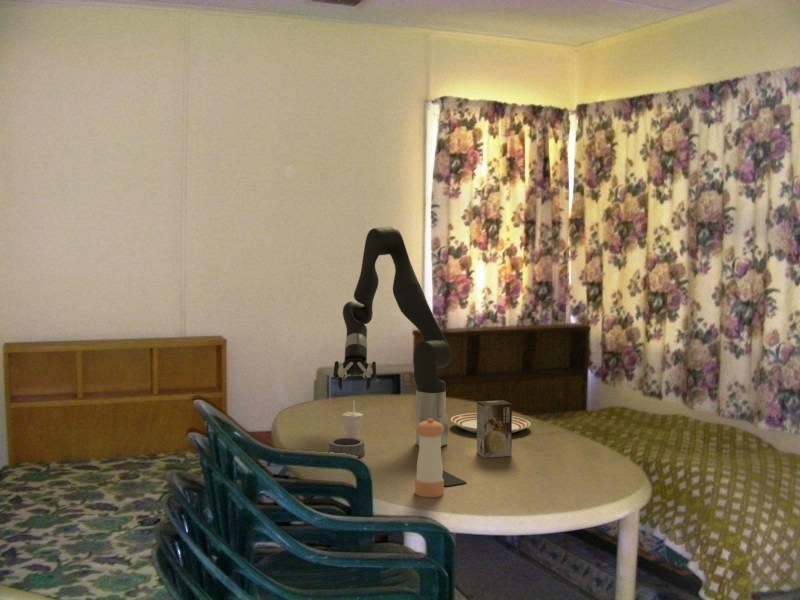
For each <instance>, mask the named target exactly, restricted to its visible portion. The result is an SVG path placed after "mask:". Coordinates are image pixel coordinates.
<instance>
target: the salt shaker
mask: <svg viewBox="0 0 800 600" xmlns="http://www.w3.org/2000/svg"><path fill="white" fill-rule="evenodd" d="M416 430H417V433H418V434H419V435H420V438H419V446H418V455H417V462H416V478H415V479H414V480H415V481H414V487H415V489H414V491H415V492H414V493H415V494H416V495H417V496H419V497H422V498H438V497H441V496H443V495H444V494H445V493H444V490H445V489H444V488H445V487H444V480H443V478H442V474H443V471H444V470H443V469H444V468H443V467H444V466H443V459H442V458H443V456H442V452H441V450H442V447H441V435H442V434H443V433H444V427H443V425H442V424H441V423H439V422H437V421H434V420H433V419H431V418H429V419H428V420H427V421H423V422H421V423H419V424H418V426H417V429H416V428H415V431H416Z"/></svg>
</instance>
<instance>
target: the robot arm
mask: <svg viewBox="0 0 800 600" xmlns="http://www.w3.org/2000/svg"><path fill="white" fill-rule="evenodd" d="M405 244H406V243H405V241H404V239H403V235H402V233H401V232H400V230H399V229H398V228H397V227H395V226H381V227H373V228H371V229H370V230H369V231H368V233H367V235H366V237H365V241H364V249H363V255H362V262H361V269H360V273H359V277H358V280H357V284H356V286H355V289H354V292H353V299H355V301H356V302H355V301H347V302H346V303H345V304H344V306H343V307H342V308H343V309H342V317H343V320H344V324H345V328H346V341H345V345H344V347H345V348H344V361H343V362H339V361H337V360H336V361H334V365H333V367H334V368H333V375H332V376H333V377H332V378H333V380H334V381H338V382H337V387H338V389H339V390H340V391H343V385H344V380H345V379H347V377H349V376H352V377H353V376H356V377H357V376H358V377H359V376H361V377H362V378H363V379H365V380H366V383H365V384H366V385H365V390H366V391H369V390H371V387H372V385H371V383H372V381H376V380H377V363H376V361H372V362H371V363H369V362H368V361H367V360H368V328H367V325H368V324H369V323H370V322H371V321H372V319H373V304H374V299H375V296H376V292H377V290H378V288H379V287H378V286H379V276H378V272H377V269H376V262H377V260H378V258H379V256H388V255H390V257H391V259H392V261H393V265H394V270H395V272H394V277H393V278H394V279H393V282H392V283H393V285H392V293H393V297H394V299H395V301H396V303H397V307H398V308H399V311H400V312H401V314H403V316H404V317H405V318H406V319H407V320H408V321H409V322H411V323H412V325H413V326H415V328H416V329H417V330H418V331H419V332H420V334H421V336H422V338H423V340H421V341H419V342H418V343H417V344H416V346H415V347H414V350H413V377H414V383H415V385H416V398H415V399H416V404H415V406H416V407H415V409H416V414H415V415H416V416H415V445H417V446H418V447H419V438H420V435H419V434H418V433H417V430H416V429H417V426H418V424H419V423H421V422H423V421H427V420H428V419H429V418H431V419H433V420H434V421H437V422H439V423H441V424H442V425H443V427H444V433H443V434H442V435H441V448H442V447H443V446H445V445H447V444H448V429H449V428H448V425H449V424H448V423H449V419H448V418H449V415H448V414H447V413H446V402H447V401H446V398H447V397H446V390H447V386H446V385H447V383H446V381H444V380H443V379H440V378H439V377H438V376H437V375H438V374H437V370H438V369H442V368H443V369H444V368H446V367H448V366H449V364H451V361H452V357H453V355H452V349H451V347H450V344H449V343H448V340H447V339H446V337H445V335H444V333H443V331H442V330H441V328H440V326H439V324H438V322H437V320H436V318H435V316H434V314H433V312H432V309H431V307H430V305H429V303H428V300H427V298H426V295H425V293H424V291H423V289H422V286H421V284H420V282H419V279H418V278H417V275H416V272H415V269H414V268H413V265H412V263H411V260H410V258H409V254H408V251H407V248H406V247H407V246H406V245H405ZM366 324H367V325H366ZM342 368H343V370H342V371H341V372H340V373H339V371H340V370H341V369H342ZM368 368H369V369H370V370H371V371H372V372H371V373H372V374H370V373H369V372H368V370H367V369H368Z"/></svg>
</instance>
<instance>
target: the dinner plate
mask: <svg viewBox="0 0 800 600" xmlns="http://www.w3.org/2000/svg"><path fill="white" fill-rule="evenodd" d="M450 422H451V423H452V424H454V425H455V426H456V427H458V428H461V429H463V430H466V431H467V432H469V433H474V434H477V412H472V413H462V414H457V415H454V416H452V417H451V418H450ZM530 426H531V422H530V421H529V420H527V419H525V418H523V417H518V416H514V415H512V434H515V433H516V432H520V431H522V430H524V429H527V428H529V427H530Z"/></svg>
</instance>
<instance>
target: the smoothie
mask: <svg viewBox="0 0 800 600" xmlns="http://www.w3.org/2000/svg"><path fill="white" fill-rule="evenodd" d="M352 402H353V404H352V407H353V409H352V410H353V411H349V412H348V411H347V412H344V413H342V419H343V426H344V433H345V438H358V439H360V434H361V427H362V421H363V420H362V419H363V418H364V416H363V413H362V412H359V411H356V400H353V401H352Z"/></svg>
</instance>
